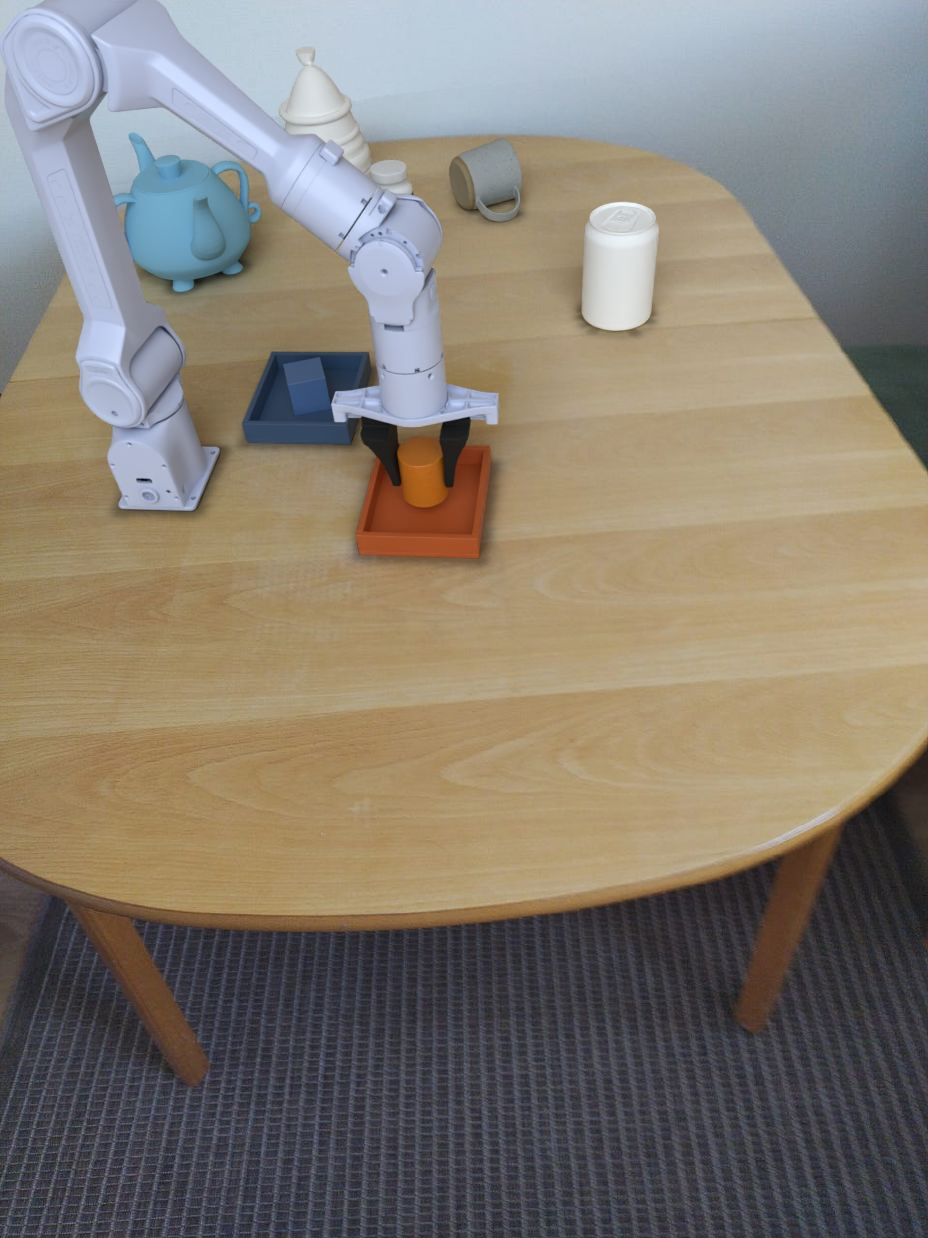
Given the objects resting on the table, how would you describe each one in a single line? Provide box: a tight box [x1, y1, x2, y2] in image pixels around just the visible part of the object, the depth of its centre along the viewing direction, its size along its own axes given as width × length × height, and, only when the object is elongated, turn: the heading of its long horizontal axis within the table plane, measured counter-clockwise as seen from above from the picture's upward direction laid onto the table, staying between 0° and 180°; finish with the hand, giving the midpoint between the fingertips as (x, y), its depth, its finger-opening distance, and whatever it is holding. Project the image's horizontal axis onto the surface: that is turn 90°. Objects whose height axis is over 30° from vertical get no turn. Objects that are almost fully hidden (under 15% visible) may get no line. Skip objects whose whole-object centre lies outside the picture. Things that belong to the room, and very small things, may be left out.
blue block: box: [283, 357, 331, 416], centre depth 102 cm, size 4×4×4 cm
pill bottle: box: [370, 159, 414, 199], centre depth 123 cm, size 6×6×10 cm
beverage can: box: [581, 201, 660, 332], centre depth 107 cm, size 8×8×12 cm
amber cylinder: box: [397, 435, 449, 507], centre depth 88 cm, size 4×4×5 cm
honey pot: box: [278, 46, 373, 180], centre depth 131 cm, size 13×13×18 cm
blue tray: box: [241, 350, 372, 446], centre depth 103 cm, size 13×11×2 cm
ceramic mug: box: [448, 137, 524, 223], centre depth 128 cm, size 11×8×8 cm
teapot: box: [113, 131, 263, 293], centre depth 120 cm, size 16×20×14 cm
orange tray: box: [355, 443, 492, 559], centre depth 90 cm, size 13×11×2 cm
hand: (424, 479), depth 89 cm, fingers closed on amber cylinder, 4 cm apart
